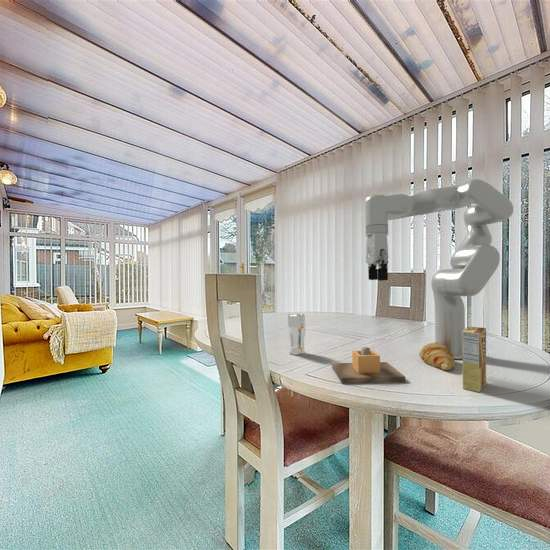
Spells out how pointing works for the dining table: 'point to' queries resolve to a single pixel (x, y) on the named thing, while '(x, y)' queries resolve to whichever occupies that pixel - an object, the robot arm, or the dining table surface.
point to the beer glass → (296, 333)
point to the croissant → (437, 356)
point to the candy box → (474, 358)
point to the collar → (366, 362)
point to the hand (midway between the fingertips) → (377, 280)
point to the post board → (350, 375)
